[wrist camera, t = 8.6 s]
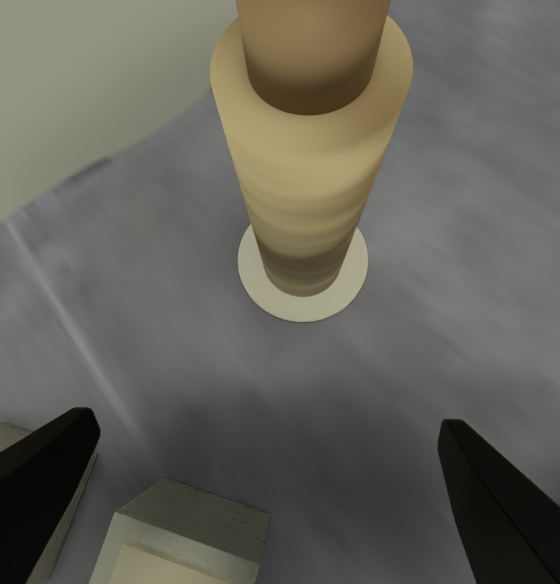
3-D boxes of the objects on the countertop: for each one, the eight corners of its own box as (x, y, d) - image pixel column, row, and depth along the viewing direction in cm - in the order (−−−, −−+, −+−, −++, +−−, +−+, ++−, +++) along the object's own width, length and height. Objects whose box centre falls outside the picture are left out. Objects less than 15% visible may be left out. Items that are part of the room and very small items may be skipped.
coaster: (351, 338, 19) (352, 337, 19) (222, 303, 20) (220, 301, 20) (378, 217, 21) (380, 214, 21) (259, 191, 22) (259, 187, 22)
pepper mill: (311, 312, 20) (346, 136, 6) (247, 267, 20) (140, 19, 6) (356, 250, 20) (486, -36, 6) (293, 210, 21) (287, -117, 7)
